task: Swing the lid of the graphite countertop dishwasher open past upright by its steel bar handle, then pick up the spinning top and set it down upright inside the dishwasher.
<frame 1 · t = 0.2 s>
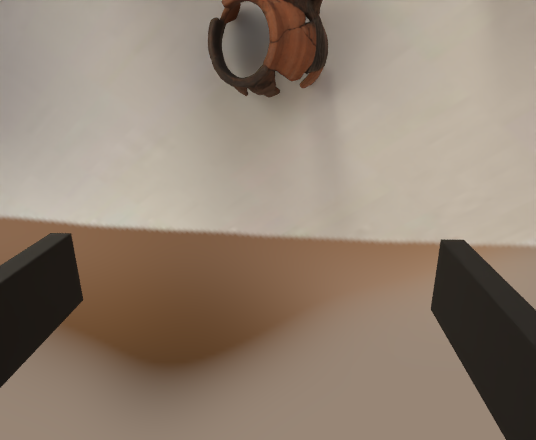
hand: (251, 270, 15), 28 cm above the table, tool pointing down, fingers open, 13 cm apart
pottery mug: (280, 36, 38), on the table
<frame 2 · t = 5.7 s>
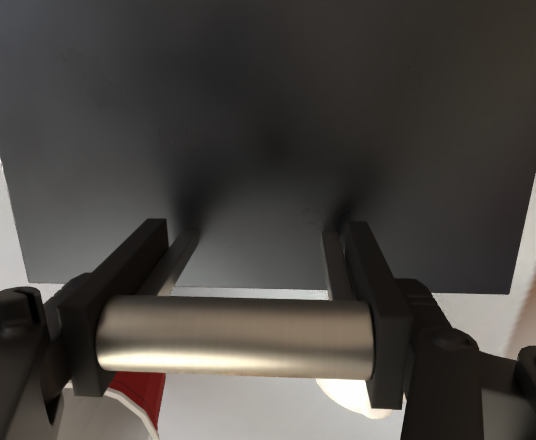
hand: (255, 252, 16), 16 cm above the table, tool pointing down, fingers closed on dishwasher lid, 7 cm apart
spinning top: (350, 299, 35), on the table
plastic cup: (142, 341, 38), on the table
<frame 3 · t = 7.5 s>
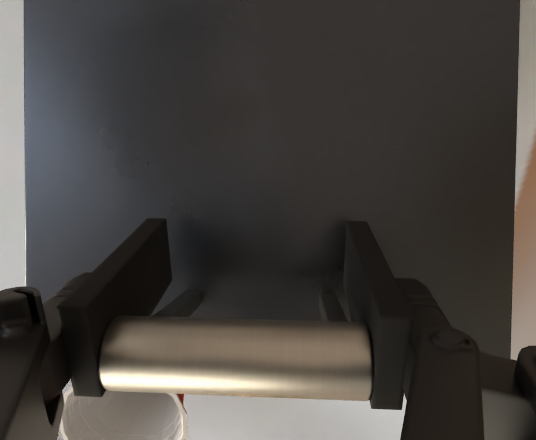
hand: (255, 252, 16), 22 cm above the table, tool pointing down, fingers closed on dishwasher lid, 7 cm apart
dishwasher lid: (253, 72, 14), point 22 cm above the table, hinge at 18.2°, touching gripper
plastic cup: (165, 337, 45), on the table
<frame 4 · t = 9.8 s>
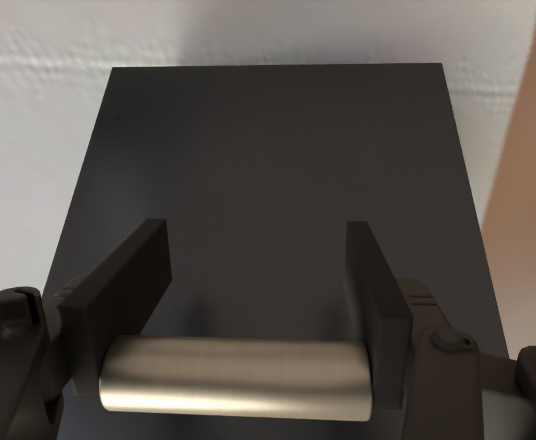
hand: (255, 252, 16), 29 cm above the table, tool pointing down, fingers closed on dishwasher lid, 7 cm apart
dishwasher lid: (261, 177, 18), point 25 cm above the table, hinge at 47.7°, touching gripper
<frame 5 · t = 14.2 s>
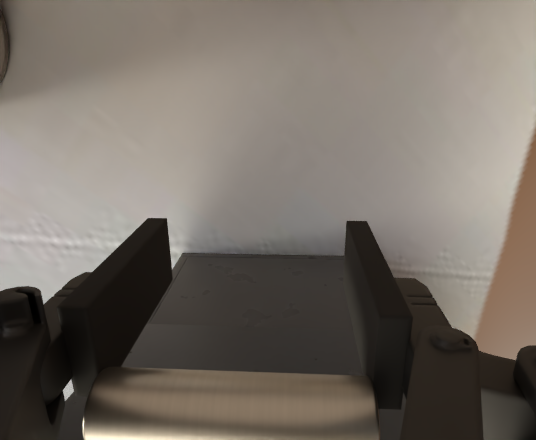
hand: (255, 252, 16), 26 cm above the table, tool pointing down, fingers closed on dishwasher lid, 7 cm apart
dishwasher lid: (261, 359, 20), point 25 cm above the table, hinge at 99.8°, touching gripper
dishwasher: (279, 337, 49), on the table
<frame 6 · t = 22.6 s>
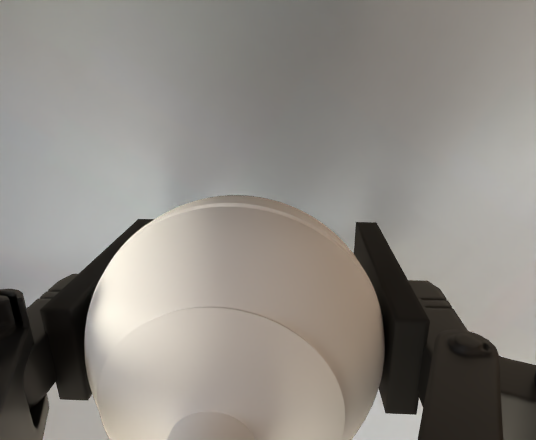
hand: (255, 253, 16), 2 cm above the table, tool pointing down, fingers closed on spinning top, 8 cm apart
spinning top: (259, 234, 18), on the table, touching gripper
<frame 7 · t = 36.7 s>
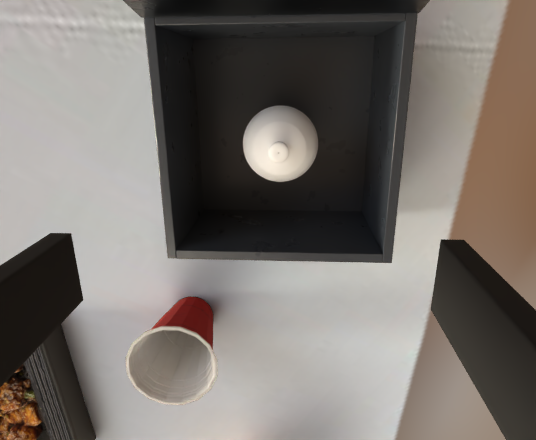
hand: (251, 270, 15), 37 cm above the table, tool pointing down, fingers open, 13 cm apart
spinning top: (282, 134, 48), point 1 cm above the table, touching dishwasher
dishwasher: (282, 128, 49), on the table
plastic cup: (195, 312, 59), on the table
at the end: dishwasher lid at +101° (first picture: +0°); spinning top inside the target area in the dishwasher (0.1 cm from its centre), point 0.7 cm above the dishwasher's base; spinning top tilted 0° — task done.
